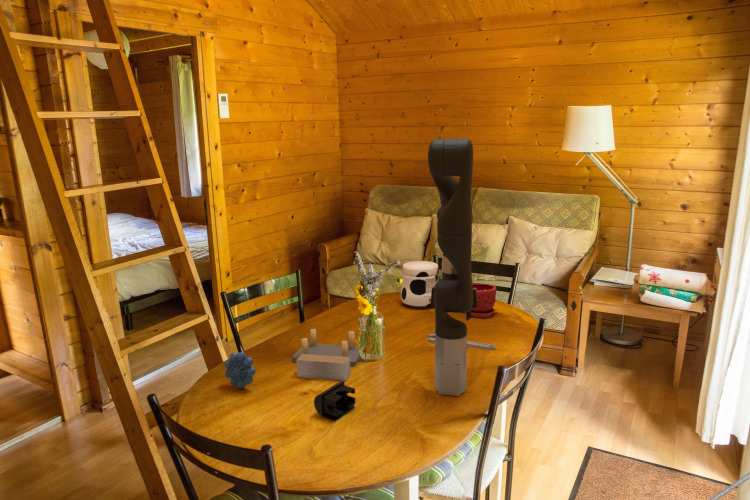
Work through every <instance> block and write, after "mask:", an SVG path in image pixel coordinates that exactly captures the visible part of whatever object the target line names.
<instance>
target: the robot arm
mask: <svg viewBox="0 0 750 500" xmlns="http://www.w3.org/2000/svg"><path fill="white" fill-rule="evenodd" d="M427 165H428V166H427V167H428V170H429V173H430V177H431V178H432V180H433V183H434V185H435V187H436V189H437V192H438V194H439V195H438V196H439V201H440V206H439V207H438V210H437V212H436V220H437V221H436V234H437V236H436V237H437V244H438V247H439V249H440V251H441V252H442V260H441V279H438V281H437V283H436V285H435V286H433V287H432V291H431V307H434V316H435V317H434V320H435V322H434V334H435V343H434V389H435V391H436V392H438V395H443V396H453V397H455V396H456V397H460V396H461V395H462V394H464V393H465V392H467V363H468V362H467V359H468V358H467V355H468V350H467V348H468V346H467V341H468V327H467V324H466V323H465V322H463V321H461V320H459V319H457V318H454V317H453V316H451V315H450V314H449V313H456V314H458V313H459V314H465V313H466V316H465V318H466V319H465V320H466V322H467V321H468V322H469V320H471V318H472V316H471V309H472V308H477V289H476V287H474V288H473V287H472V284H473V277H472V276H473V274H472V247H473V246H472V245H473V244H472V243H473V221H474V220H473V219H474V217H473V215H474V214H473V211H472V189H473V174H474V173H473V170H474V168H473V167H474V146H473V143H472V140H471V139H469V138H461V137H460V138H458V137H457V138H438V139H437V138H436V139H432V140H431V141H430V143H429V145H428V149H427ZM455 177H458V178H459V180H458V179H456V178H455Z"/></svg>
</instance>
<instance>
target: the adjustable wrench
mask: <svg viewBox="0 0 750 500" xmlns="http://www.w3.org/2000/svg"><path fill="white" fill-rule="evenodd" d="M427 340H428V343H431V344H435V333H432V334H431V333H430V334H428V335H427ZM468 346H469V348H474V347H475V348H476V349H480V348H482V350H486V349H488V350H487V351H495V350H496V345H494V344H489V343H484V342H483V343H481V342H477V341H476V342H475V341H470V340H469V341H468V340H467V347H468Z"/></svg>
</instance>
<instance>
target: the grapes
mask: <svg viewBox="0 0 750 500" xmlns="http://www.w3.org/2000/svg"><path fill="white" fill-rule="evenodd" d="M253 363H254V360H253V358H252V357H249V356H247V354H246V353H245V351H239V352H238V353H237V352H232V353H230V355H229V357H228V359H226V360H225V362H224V367H225V371H224V377H225V378H227V379H229V384H230V385H231V387H235V386H237V388H238V389H245V387H246V386H250V385H251V384H252V383H253V380H254V378H253V376H255V374H256V368H255V367H254V366H252V365H253Z"/></svg>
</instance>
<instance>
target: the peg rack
mask: <svg viewBox="0 0 750 500" xmlns="http://www.w3.org/2000/svg"><path fill="white" fill-rule="evenodd" d="M309 333H310V336H309V337H310V342H308V338H307V337H303V338H300V339H301V347H300V348H299V349H298V350H297V351H296V352H295V354H293V356H292V357H291V362H294V363H297V359H298V358H299V357H300V356H301V354H312V355H326V356H340V357H350V367H356V366H357V365H358V362H359V361H360V359H361V358H360V353H359V347H360V346H357V345H356V344H355V340H356V339H355V331H354V330H353V331H352V330H350V331H348V340H342V341H341V345H339V344H327V343H326V344H325V343H317V329H316V328H311V329H310V330H309ZM355 345H356V346H355Z"/></svg>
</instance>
